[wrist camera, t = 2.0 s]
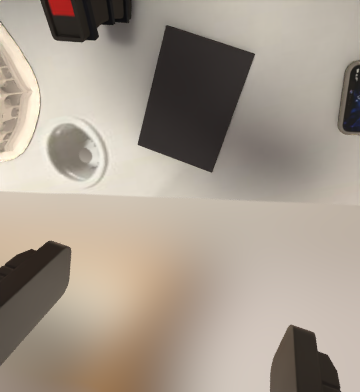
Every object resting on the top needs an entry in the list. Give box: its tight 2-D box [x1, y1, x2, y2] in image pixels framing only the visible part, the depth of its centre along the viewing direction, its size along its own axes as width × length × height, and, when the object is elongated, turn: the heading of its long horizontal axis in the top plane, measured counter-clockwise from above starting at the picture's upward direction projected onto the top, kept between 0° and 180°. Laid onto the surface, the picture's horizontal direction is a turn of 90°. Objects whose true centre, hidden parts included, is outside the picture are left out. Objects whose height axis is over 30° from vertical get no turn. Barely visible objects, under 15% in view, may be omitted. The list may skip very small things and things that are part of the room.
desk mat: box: [138, 25, 255, 172], centre depth 39 cm, size 10×14×1 cm
